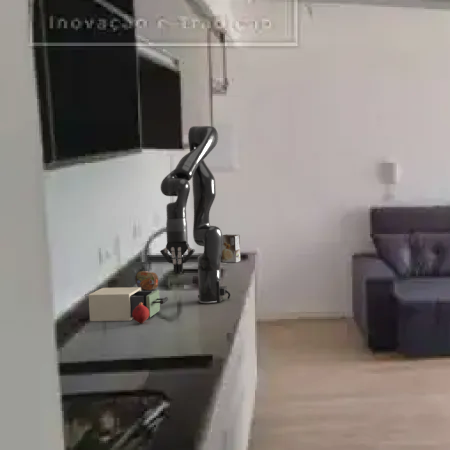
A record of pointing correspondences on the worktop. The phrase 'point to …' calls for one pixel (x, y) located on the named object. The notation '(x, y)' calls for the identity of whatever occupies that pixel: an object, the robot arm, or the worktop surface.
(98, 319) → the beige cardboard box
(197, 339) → the worktop surface
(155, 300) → the green drawer
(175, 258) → the robot arm
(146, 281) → the tin
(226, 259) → the coffee box
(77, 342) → the worktop surface
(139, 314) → the onion
